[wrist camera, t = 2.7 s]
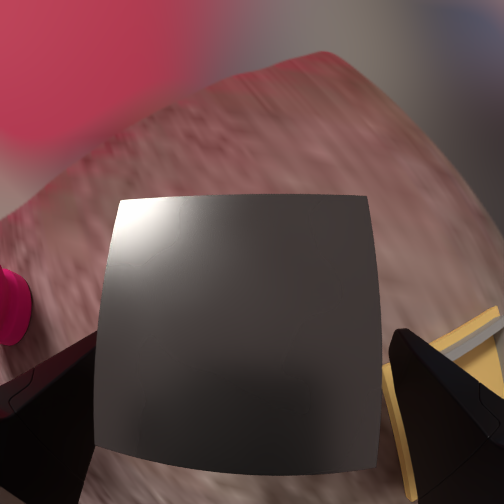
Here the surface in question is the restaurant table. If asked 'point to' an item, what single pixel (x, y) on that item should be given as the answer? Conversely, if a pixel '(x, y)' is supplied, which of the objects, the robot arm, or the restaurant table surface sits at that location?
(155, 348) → the grey rectangular block
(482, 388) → the robot arm
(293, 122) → the restaurant table surface
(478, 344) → the square tray
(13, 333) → the pepper mill
